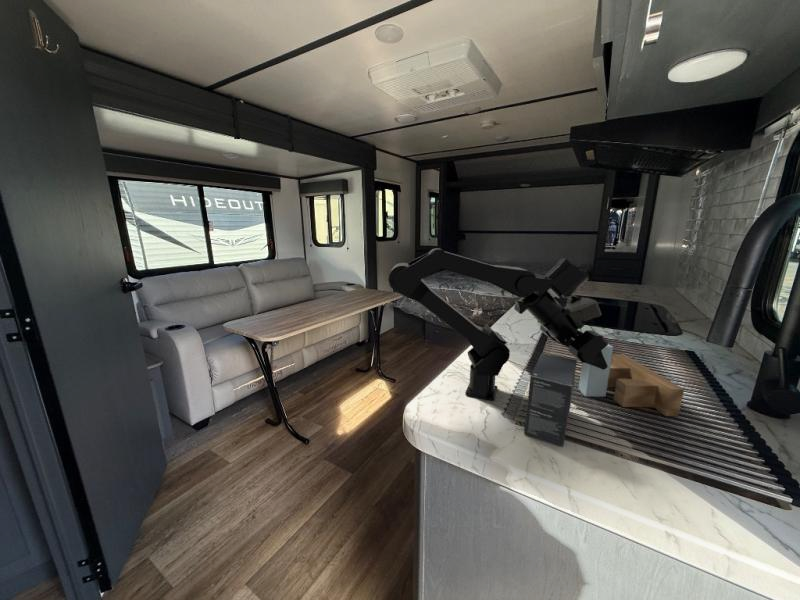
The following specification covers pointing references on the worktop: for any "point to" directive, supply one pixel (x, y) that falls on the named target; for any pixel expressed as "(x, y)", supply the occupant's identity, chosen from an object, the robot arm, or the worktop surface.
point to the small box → (550, 398)
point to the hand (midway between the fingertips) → (593, 359)
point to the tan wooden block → (643, 387)
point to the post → (596, 376)
